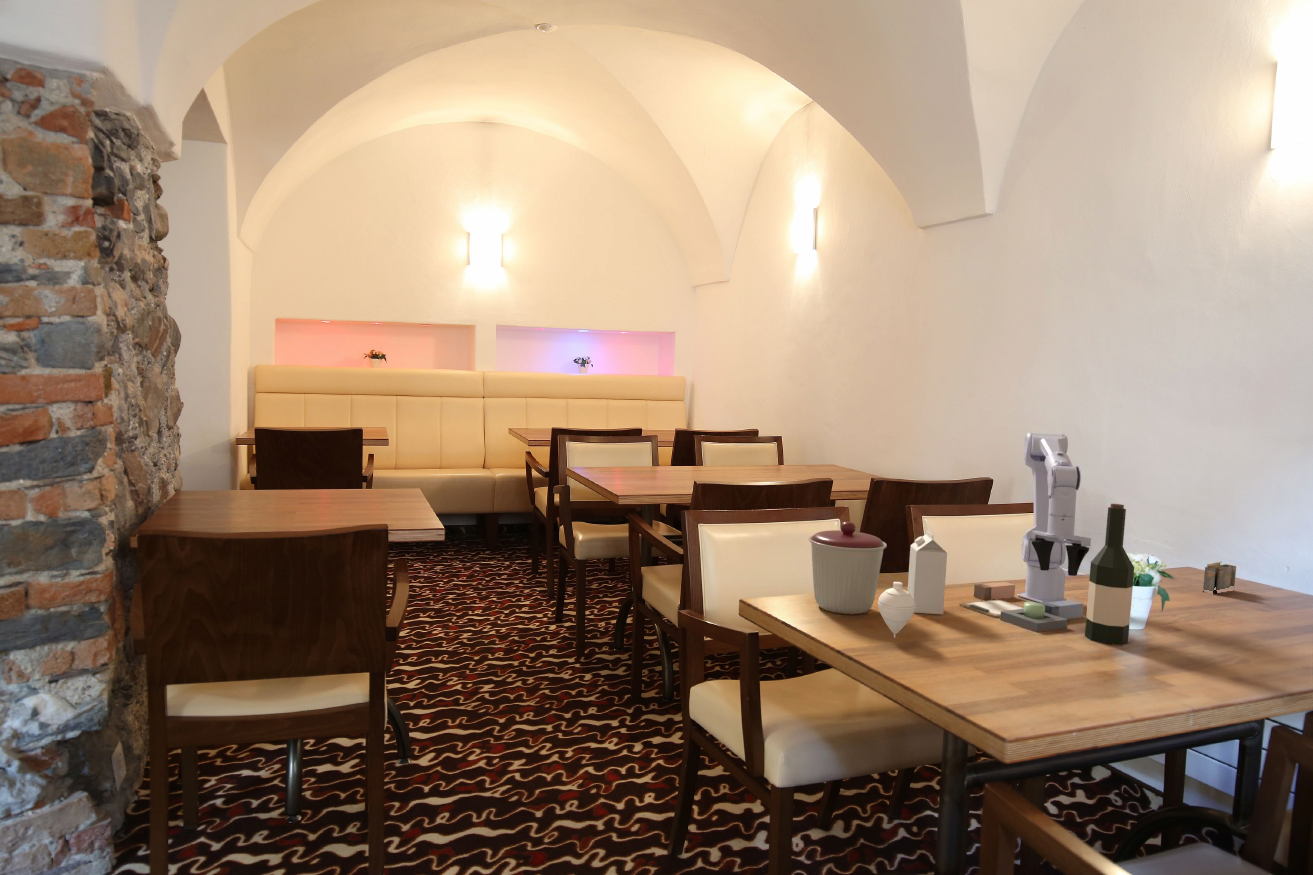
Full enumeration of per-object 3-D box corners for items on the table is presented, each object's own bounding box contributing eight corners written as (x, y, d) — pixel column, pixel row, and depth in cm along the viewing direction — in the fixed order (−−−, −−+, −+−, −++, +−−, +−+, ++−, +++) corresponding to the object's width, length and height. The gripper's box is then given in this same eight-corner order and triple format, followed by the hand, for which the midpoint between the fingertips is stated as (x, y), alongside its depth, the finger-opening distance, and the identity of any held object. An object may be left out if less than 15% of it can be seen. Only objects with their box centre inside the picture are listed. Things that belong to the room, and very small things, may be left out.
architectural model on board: (1214, 596, 227) (1217, 562, 226) (1202, 593, 229) (1205, 559, 229) (1235, 592, 232) (1238, 559, 232) (1224, 590, 235) (1227, 557, 234)
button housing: (1029, 615, 196) (1030, 607, 196) (1066, 627, 187) (1067, 619, 187) (1000, 619, 191) (1000, 611, 191) (1036, 631, 182) (1037, 623, 182)
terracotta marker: (1003, 594, 217) (1004, 581, 216) (1014, 597, 214) (1015, 584, 213) (973, 597, 212) (974, 584, 212) (984, 600, 209) (985, 587, 209)
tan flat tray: (999, 601, 209) (999, 597, 209) (1036, 612, 199) (1036, 608, 199) (959, 605, 203) (959, 601, 203) (995, 617, 193) (995, 613, 193)
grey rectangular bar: (1069, 613, 200) (1070, 599, 200) (1082, 617, 197) (1083, 603, 197) (1038, 617, 195) (1039, 603, 195) (1051, 621, 192) (1052, 607, 192)
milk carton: (936, 607, 200) (941, 530, 199) (943, 615, 193) (948, 536, 192) (906, 605, 201) (911, 529, 200) (912, 613, 194) (917, 534, 193)
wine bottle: (1084, 640, 177) (1095, 504, 175) (1084, 631, 185) (1095, 500, 183) (1128, 648, 174) (1140, 508, 172) (1127, 638, 181) (1138, 504, 179)
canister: (826, 594, 208) (831, 513, 206) (894, 609, 196) (900, 523, 195) (791, 607, 194) (795, 520, 192) (861, 624, 182) (867, 531, 181)
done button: (1032, 613, 192) (1033, 601, 192) (1048, 618, 188) (1049, 605, 188) (1019, 615, 190) (1020, 602, 190) (1035, 620, 186) (1036, 607, 186)
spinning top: (915, 645, 169) (918, 588, 168) (877, 641, 170) (880, 584, 170) (911, 634, 176) (914, 579, 176) (874, 630, 178) (878, 576, 177)
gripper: (1024, 512, 199) (1020, 568, 199) (1077, 518, 186) (1074, 578, 186) (1044, 513, 202) (1041, 567, 202) (1098, 519, 189) (1094, 577, 189)
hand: (1058, 572), depth 194 cm, fingers open, 7 cm apart
